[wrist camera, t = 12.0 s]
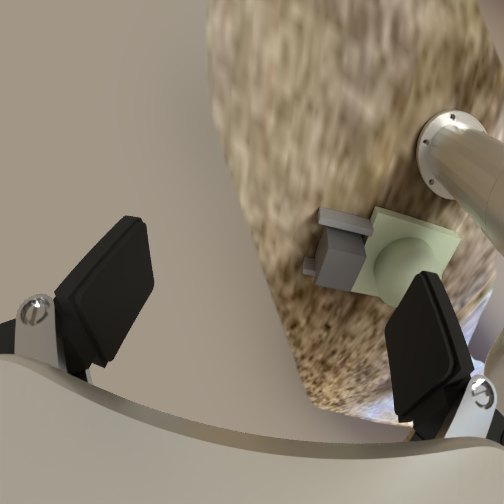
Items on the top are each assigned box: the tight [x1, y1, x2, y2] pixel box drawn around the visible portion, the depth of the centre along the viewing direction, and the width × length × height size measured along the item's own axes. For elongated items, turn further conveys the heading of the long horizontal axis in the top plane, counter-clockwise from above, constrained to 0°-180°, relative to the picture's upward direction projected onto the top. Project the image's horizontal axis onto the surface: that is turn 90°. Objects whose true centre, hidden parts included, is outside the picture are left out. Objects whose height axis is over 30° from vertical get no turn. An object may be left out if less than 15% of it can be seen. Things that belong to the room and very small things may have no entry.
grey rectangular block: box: [315, 225, 367, 292], centre depth 37 cm, size 5×6×7 cm
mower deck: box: [302, 206, 461, 308], centre depth 37 cm, size 22×14×6 cm, turn 82°
